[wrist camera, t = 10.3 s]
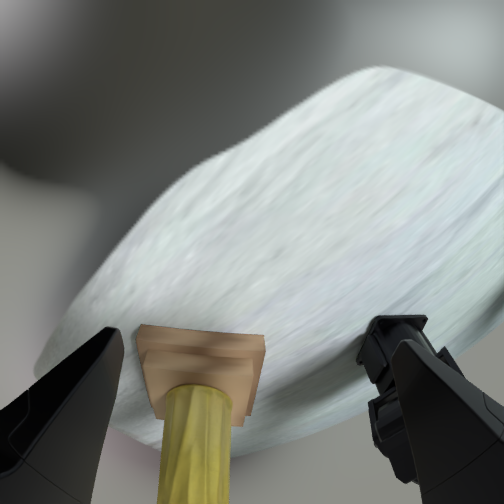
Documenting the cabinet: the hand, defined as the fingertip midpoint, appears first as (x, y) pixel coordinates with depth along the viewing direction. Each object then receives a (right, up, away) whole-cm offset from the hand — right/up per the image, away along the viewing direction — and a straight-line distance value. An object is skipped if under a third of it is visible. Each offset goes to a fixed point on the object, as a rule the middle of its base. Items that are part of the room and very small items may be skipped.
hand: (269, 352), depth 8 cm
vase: (-5, -11, +16) cm, 20 cm away
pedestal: (-6, -9, +19) cm, 22 cm away
